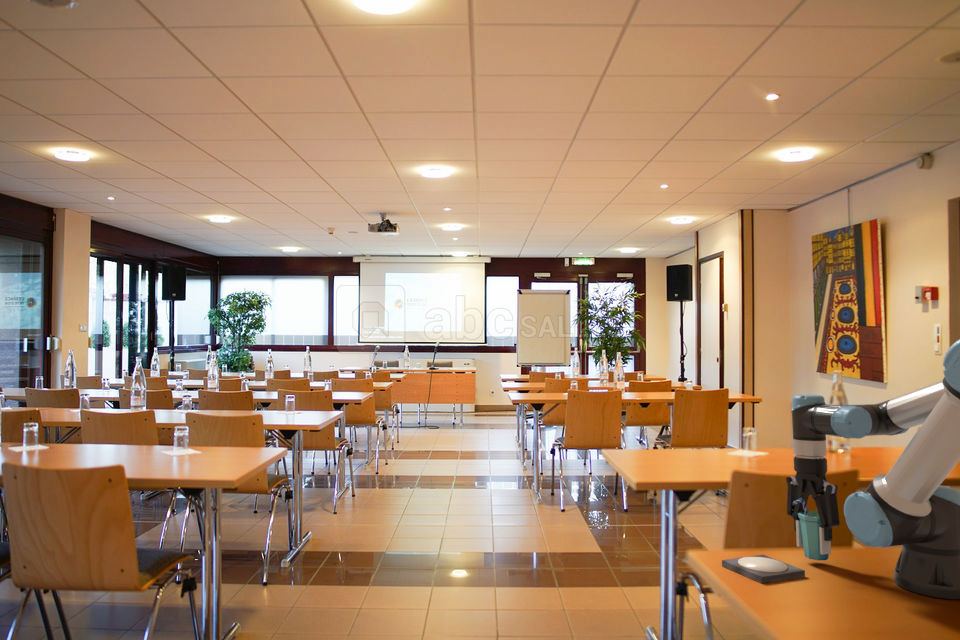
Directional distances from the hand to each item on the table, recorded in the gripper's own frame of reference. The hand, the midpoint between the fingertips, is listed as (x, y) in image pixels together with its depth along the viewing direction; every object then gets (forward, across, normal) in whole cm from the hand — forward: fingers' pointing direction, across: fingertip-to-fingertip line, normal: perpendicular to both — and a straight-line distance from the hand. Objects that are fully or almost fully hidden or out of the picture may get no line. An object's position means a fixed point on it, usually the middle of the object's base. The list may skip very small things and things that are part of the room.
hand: (813, 549), depth 162 cm
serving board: (+4, 0, +16) cm, 16 cm away
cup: (+2, 0, 0) cm, 2 cm away
